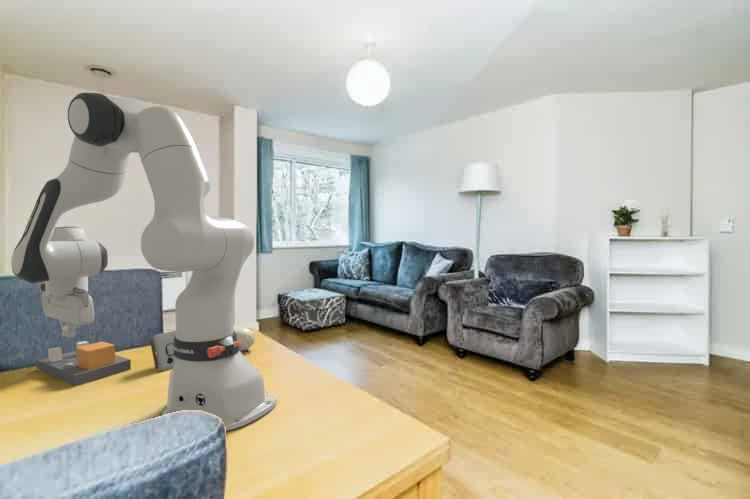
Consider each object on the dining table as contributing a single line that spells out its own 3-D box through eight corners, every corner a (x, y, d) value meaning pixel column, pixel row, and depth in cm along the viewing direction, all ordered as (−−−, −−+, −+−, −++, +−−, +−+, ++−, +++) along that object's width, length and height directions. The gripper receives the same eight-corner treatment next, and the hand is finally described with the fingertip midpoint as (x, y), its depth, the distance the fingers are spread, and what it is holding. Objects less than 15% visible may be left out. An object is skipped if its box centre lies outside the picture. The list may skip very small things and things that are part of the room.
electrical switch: (160, 372, 94) (158, 336, 94) (148, 370, 97) (146, 335, 97) (194, 361, 102) (191, 327, 102) (182, 359, 105) (180, 327, 105)
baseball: (249, 354, 108) (248, 332, 108) (225, 353, 109) (225, 330, 109) (259, 347, 115) (259, 326, 114) (236, 346, 116) (236, 325, 115)
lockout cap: (115, 362, 94) (114, 344, 94) (88, 370, 89) (88, 351, 88) (102, 358, 97) (102, 341, 96) (76, 365, 91) (75, 347, 91)
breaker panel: (130, 369, 96) (130, 357, 96) (75, 386, 86) (75, 372, 85) (90, 355, 106) (90, 345, 105) (36, 369, 95) (36, 357, 95)
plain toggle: (62, 359, 95) (61, 348, 95) (52, 362, 93) (51, 350, 93) (58, 358, 96) (57, 347, 96) (48, 360, 94) (48, 349, 94)
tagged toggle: (89, 353, 100) (88, 342, 100) (80, 355, 98) (80, 344, 98) (85, 351, 101) (84, 340, 101) (76, 354, 99) (76, 342, 99)
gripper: (101, 288, 100) (102, 339, 100) (63, 281, 109) (64, 328, 110) (73, 291, 94) (74, 345, 95) (36, 284, 104) (37, 333, 104)
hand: (68, 336), depth 102 cm, fingers closed
